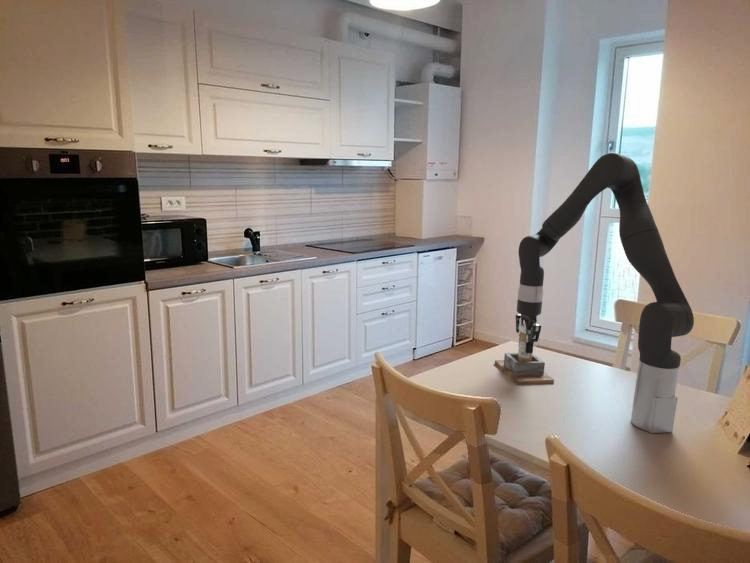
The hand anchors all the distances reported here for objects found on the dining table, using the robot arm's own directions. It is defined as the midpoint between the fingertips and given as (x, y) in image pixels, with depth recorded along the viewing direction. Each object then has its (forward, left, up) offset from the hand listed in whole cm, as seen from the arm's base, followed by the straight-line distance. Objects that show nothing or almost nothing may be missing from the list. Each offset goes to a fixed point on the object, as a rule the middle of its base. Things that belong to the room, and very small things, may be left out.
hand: (525, 350), depth 174 cm
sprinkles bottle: (0, 0, -6) cm, 6 cm away
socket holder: (0, 0, -8) cm, 8 cm away
